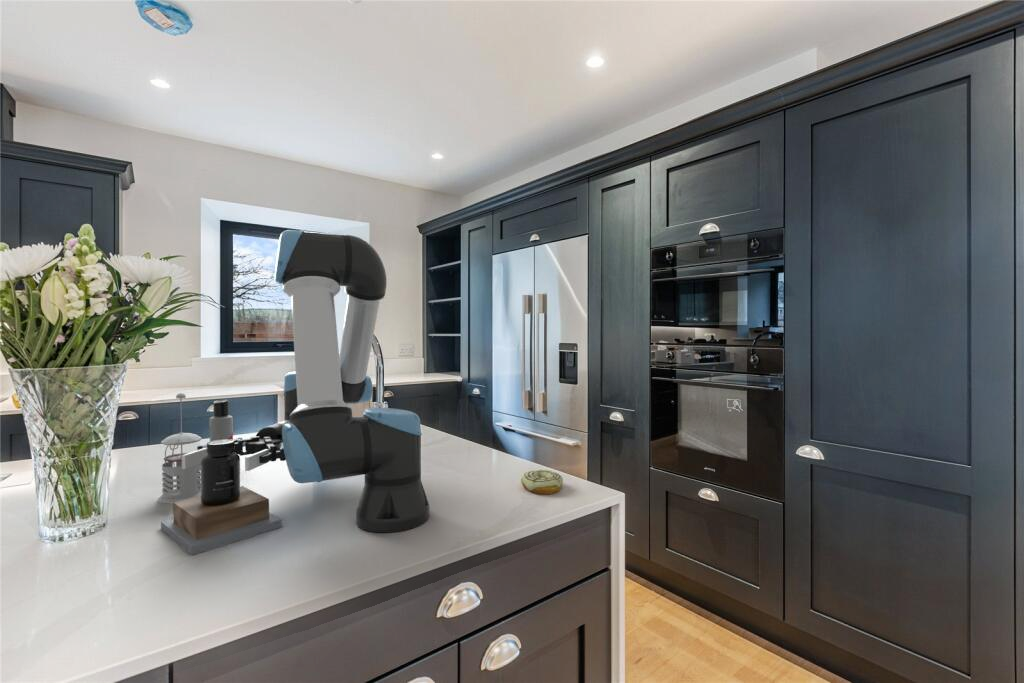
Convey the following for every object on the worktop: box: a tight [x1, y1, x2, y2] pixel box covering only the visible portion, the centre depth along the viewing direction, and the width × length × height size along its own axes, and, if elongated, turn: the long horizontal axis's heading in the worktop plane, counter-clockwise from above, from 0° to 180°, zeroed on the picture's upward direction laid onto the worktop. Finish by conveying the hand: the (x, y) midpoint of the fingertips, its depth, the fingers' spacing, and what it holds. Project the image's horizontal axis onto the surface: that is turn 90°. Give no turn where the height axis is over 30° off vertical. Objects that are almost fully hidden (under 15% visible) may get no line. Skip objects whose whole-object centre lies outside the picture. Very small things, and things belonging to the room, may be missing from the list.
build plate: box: [160, 511, 283, 556], centre depth 96 cm, size 18×16×2 cm
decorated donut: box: [520, 469, 564, 495], centre depth 121 cm, size 10×11×4 cm
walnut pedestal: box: [172, 485, 270, 540], centre depth 96 cm, size 13×13×4 cm
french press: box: [157, 392, 202, 504], centre depth 115 cm, size 10×12×25 cm
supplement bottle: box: [200, 439, 241, 506], centre depth 96 cm, size 7×7×12 cm
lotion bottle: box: [209, 399, 234, 442], centre depth 138 cm, size 6×6×20 cm
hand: (214, 463), depth 94 cm, fingers open, 13 cm apart
